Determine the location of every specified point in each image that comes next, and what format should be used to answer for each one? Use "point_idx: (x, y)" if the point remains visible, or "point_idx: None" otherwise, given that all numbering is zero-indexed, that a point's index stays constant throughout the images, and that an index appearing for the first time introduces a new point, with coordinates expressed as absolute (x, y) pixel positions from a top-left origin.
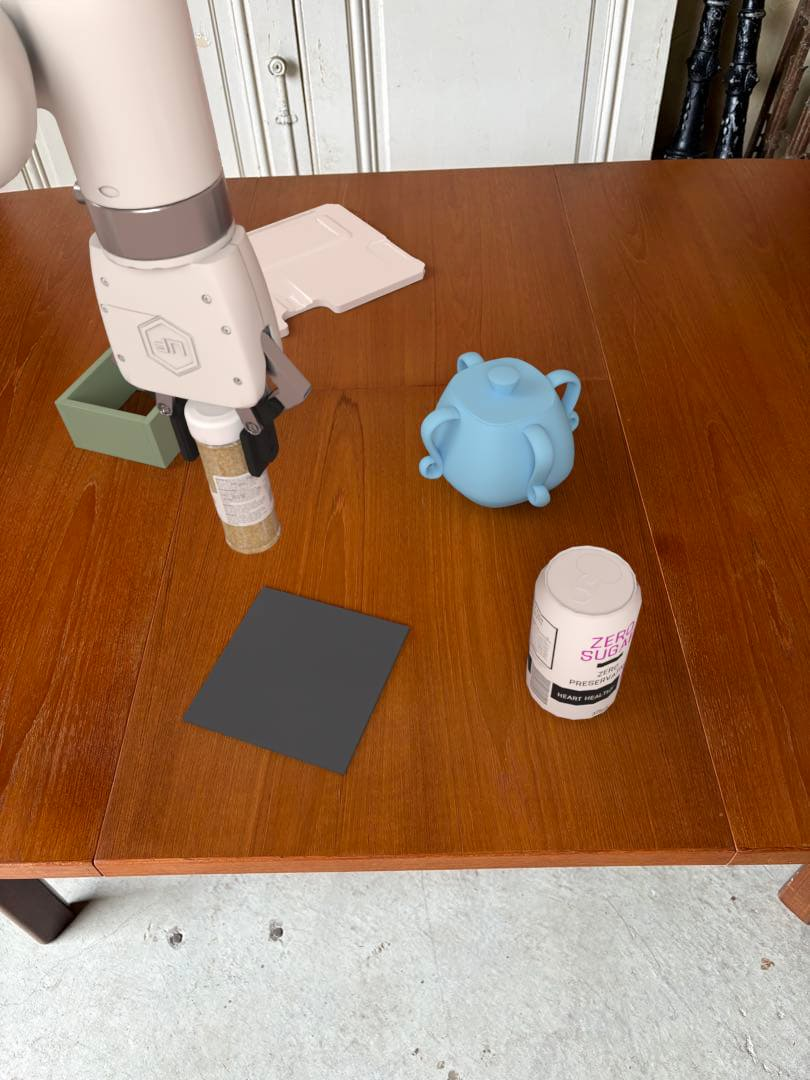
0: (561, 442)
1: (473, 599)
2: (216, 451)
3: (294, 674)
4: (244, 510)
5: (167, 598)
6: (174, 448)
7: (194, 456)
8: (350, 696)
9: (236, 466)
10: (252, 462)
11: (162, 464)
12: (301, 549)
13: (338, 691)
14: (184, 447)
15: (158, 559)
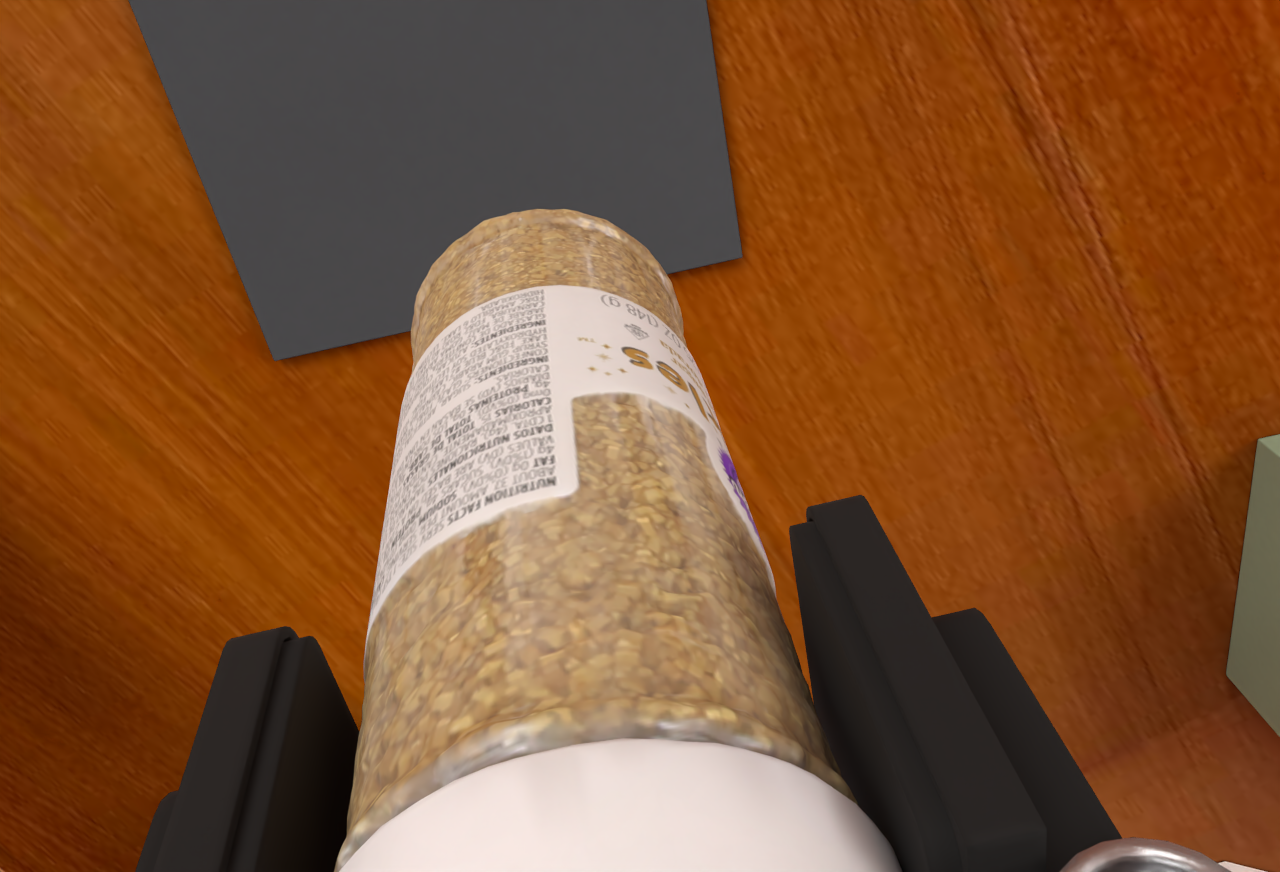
0: None
1: (200, 515)
2: (486, 711)
3: (449, 46)
4: (434, 390)
5: (995, 69)
6: (1267, 503)
7: (798, 558)
8: (246, 73)
9: (396, 644)
10: (202, 750)
11: (1274, 445)
12: (725, 414)
13: (289, 68)
14: (860, 595)
15: (1104, 173)
